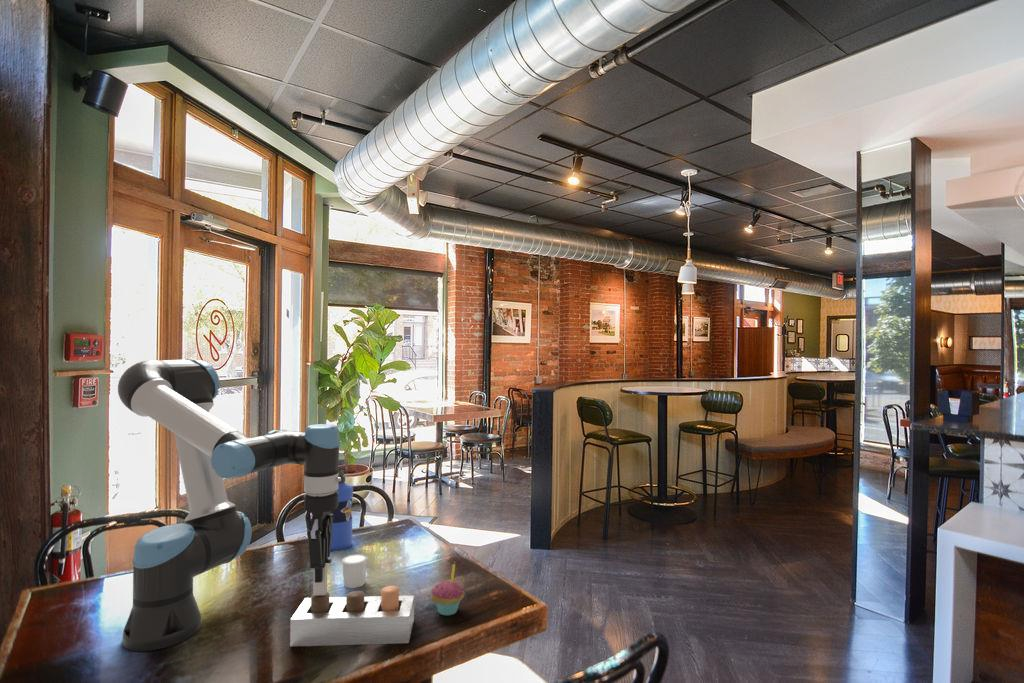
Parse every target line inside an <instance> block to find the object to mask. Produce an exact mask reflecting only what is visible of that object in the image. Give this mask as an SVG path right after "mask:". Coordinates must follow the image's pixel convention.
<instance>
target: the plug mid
mask: <svg viewBox="0 0 1024 683" xmlns="http://www.w3.org/2000/svg"><path fill="white" fill-rule="evenodd" d="M345 597H346V612H364V597H365V592H364V591H363V590H353V591H350V592H348V593H347V594H346V596H345Z"/></svg>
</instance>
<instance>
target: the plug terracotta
mask: <svg viewBox="0 0 1024 683" xmlns="http://www.w3.org/2000/svg"><path fill="white" fill-rule="evenodd" d="M380 591H381V592H380V594H381V611H399V596H400V587H398V586H396V585H387V586H384V587H382V589H381V590H380Z"/></svg>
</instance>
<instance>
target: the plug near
mask: <svg viewBox="0 0 1024 683" xmlns="http://www.w3.org/2000/svg"><path fill="white" fill-rule="evenodd" d="M329 597H330V593H329V592H328V591H327V593H326V595H313V594H312V595H311V596H310V598H311V613H328V612H329Z"/></svg>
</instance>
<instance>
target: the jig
mask: <svg viewBox="0 0 1024 683" xmlns="http://www.w3.org/2000/svg"><path fill="white" fill-rule="evenodd" d="M414 621H415V595H399V611H381V596H379V595H377V596H375V595H374V596H370V595H369V596H364V612H346V596H335V597H334V596H333V597H332V596H329V612H328V613H311V597H304V599H303V601H302V602H301V603H300V605H299V606H298V608H297V609H296V611H295V612H294V613H293V615H292V617H290V620H289V622H290V631H289V632H290V633H289V635H290V636H289V638H290V642H289V646H290V647H291V648H292V647H317V646H319V647H320V646H321V647H322V646H323V647H324V646H326V647H327V646H350V645H351V646H352V645H353V646H356V645H358V646H359V645H361V646H362V645H388V644H389V645H390V644H409V643H410V639H411V635H412V632H413V631H412V630H413V626H414Z"/></svg>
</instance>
